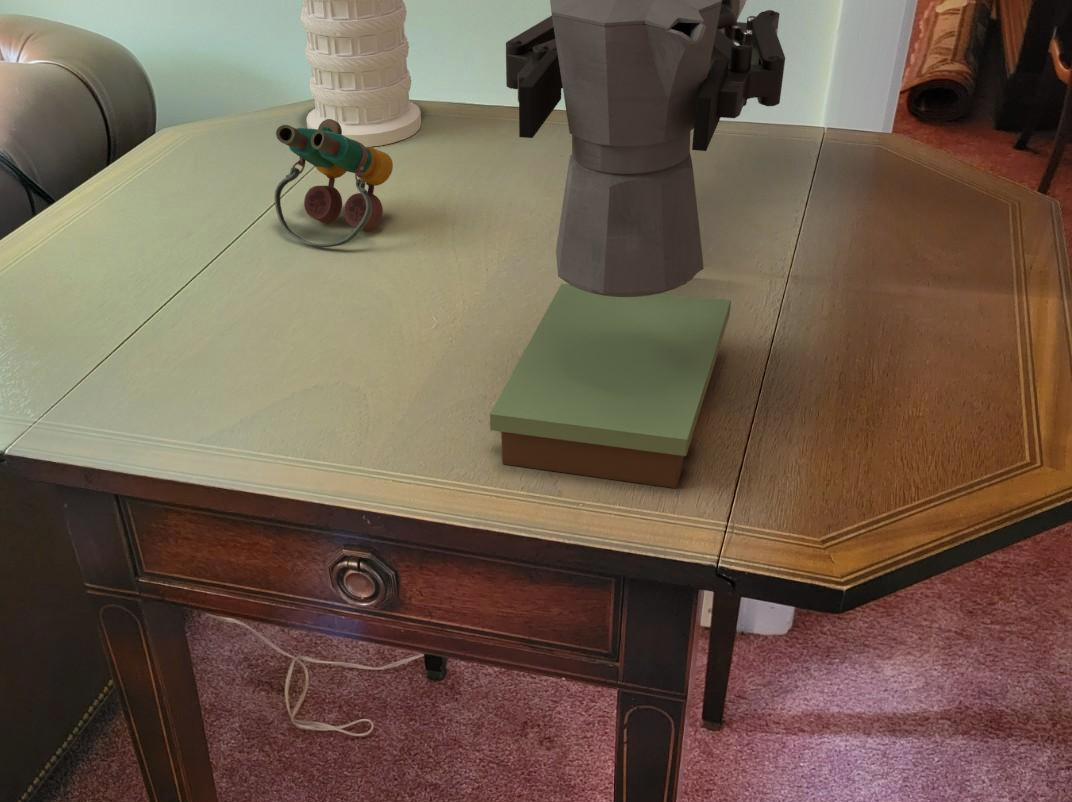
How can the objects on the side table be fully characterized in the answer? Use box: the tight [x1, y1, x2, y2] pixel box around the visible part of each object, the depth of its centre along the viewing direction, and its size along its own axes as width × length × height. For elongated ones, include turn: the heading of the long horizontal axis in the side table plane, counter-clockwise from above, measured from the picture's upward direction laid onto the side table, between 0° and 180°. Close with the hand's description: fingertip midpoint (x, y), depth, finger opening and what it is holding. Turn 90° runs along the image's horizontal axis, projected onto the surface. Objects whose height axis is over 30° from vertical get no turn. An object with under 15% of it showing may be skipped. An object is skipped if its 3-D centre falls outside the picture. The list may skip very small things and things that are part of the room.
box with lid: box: [489, 283, 732, 489], centre depth 80 cm, size 12×18×4 cm, turn 163°
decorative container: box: [300, 0, 422, 148], centre depth 118 cm, size 12×12×18 cm
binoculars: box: [273, 119, 394, 248], centre depth 101 cm, size 9×9×10 cm
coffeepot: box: [549, 0, 722, 297], centre depth 68 cm, size 15×9×18 cm, turn 22°
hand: (612, 118), depth 65 cm, fingers closed on coffeepot, 9 cm apart
